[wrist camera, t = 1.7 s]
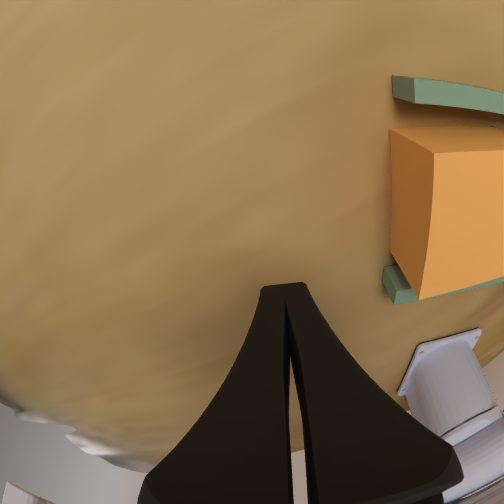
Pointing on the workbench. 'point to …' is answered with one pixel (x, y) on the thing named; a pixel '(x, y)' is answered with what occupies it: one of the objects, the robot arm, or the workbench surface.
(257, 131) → the workbench surface
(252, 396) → the robot arm
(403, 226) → the orange square block
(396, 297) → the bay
